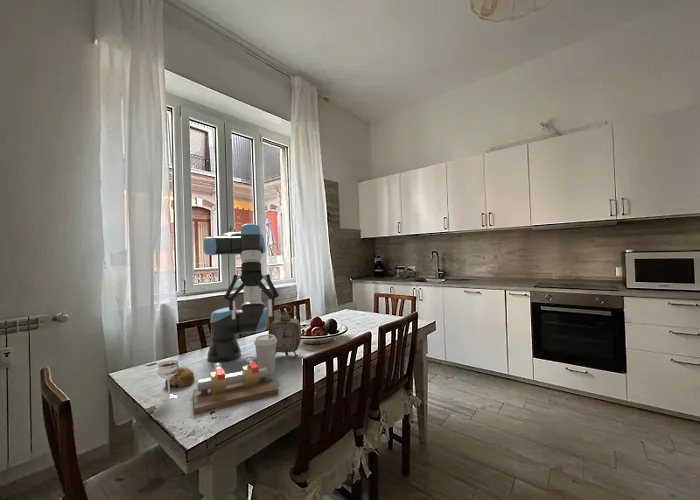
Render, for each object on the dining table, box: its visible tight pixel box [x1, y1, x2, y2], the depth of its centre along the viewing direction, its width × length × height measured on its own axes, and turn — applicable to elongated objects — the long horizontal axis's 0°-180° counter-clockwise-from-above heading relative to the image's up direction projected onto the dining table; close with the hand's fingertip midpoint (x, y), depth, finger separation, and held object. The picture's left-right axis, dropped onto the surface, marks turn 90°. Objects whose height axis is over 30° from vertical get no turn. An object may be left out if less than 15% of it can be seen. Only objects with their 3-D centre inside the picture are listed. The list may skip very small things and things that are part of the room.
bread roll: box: [164, 366, 195, 390], centre depth 123 cm, size 10×10×8 cm
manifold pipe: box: [197, 364, 268, 395], centre depth 115 cm, size 4×24×8 cm, turn 118°
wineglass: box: [157, 359, 180, 401], centre depth 112 cm, size 7×7×12 cm
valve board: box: [192, 375, 279, 415], centre depth 113 cm, size 15×27×2 cm, turn 118°
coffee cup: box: [253, 334, 277, 376], centre depth 132 cm, size 10×10×15 cm
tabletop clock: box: [267, 304, 302, 359], centre depth 152 cm, size 14×9×25 cm, turn 91°
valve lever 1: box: [213, 362, 226, 381], centre depth 108 cm, size 12×3×2 cm, turn 28°
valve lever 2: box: [245, 356, 259, 374], centre depth 113 cm, size 12×3×2 cm, turn 28°
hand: (252, 317), depth 119 cm, fingers open, 13 cm apart
